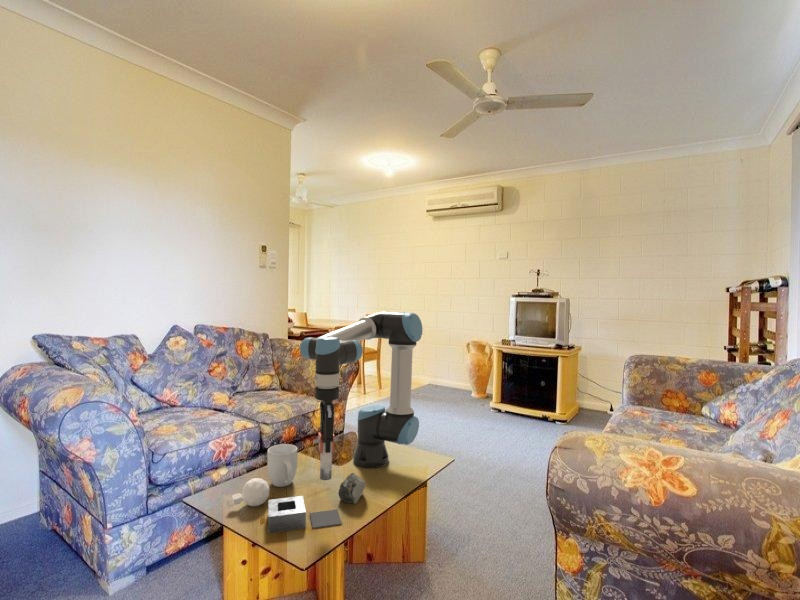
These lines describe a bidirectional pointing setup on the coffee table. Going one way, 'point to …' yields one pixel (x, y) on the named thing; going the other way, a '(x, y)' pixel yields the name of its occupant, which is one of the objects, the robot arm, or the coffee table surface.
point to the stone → (351, 488)
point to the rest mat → (325, 519)
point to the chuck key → (324, 467)
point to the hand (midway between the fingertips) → (326, 458)
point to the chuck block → (286, 514)
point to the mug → (282, 464)
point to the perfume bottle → (253, 493)
